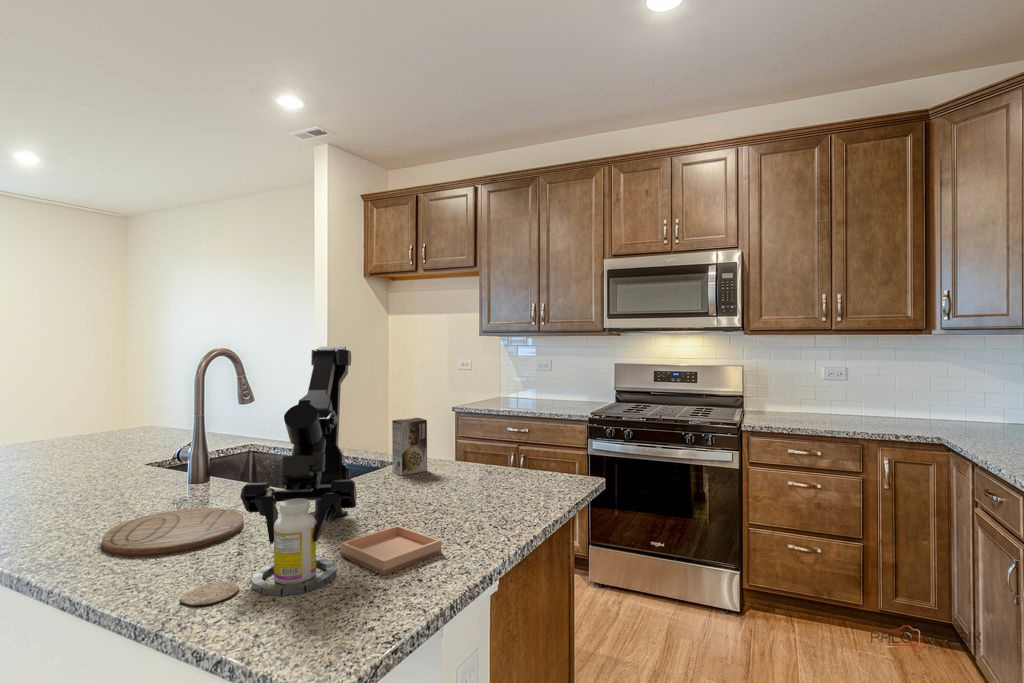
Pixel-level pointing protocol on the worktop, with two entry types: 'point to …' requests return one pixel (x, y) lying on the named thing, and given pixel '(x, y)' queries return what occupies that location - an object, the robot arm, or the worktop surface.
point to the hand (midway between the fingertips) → (293, 541)
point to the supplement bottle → (294, 543)
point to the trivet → (172, 532)
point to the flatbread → (209, 593)
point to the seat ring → (291, 589)
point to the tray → (390, 549)
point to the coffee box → (409, 446)
